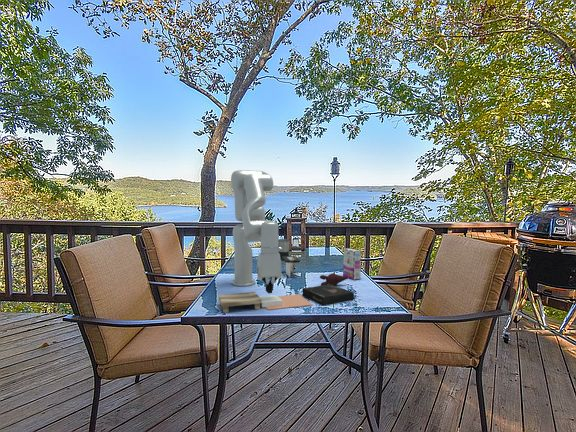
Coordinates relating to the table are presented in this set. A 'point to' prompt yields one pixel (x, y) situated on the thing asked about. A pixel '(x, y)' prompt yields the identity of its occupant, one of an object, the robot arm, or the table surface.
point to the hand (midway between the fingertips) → (269, 292)
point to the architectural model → (290, 263)
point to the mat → (291, 302)
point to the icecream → (332, 279)
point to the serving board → (239, 300)
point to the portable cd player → (327, 294)
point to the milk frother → (283, 247)
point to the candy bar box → (352, 263)
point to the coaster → (270, 301)
